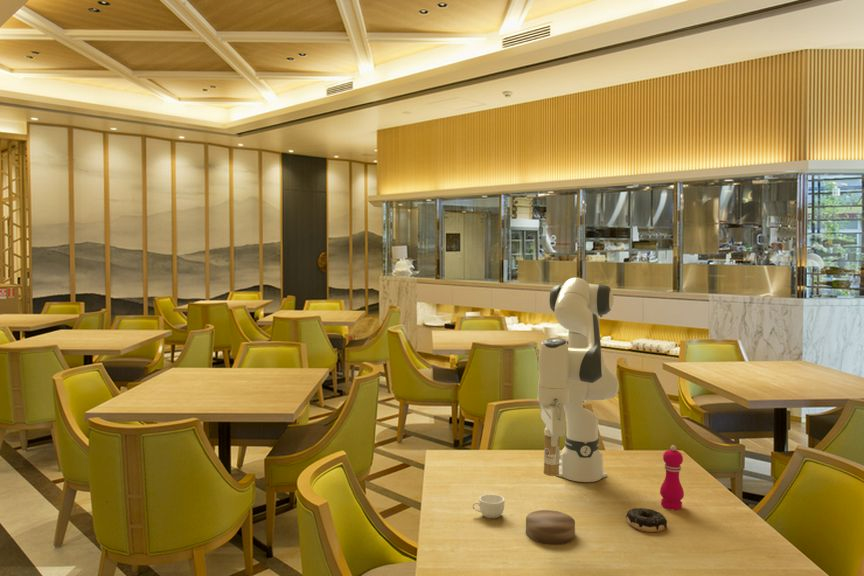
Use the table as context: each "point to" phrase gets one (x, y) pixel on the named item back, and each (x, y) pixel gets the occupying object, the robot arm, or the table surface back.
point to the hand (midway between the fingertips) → (552, 442)
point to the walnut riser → (550, 527)
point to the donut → (646, 520)
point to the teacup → (490, 505)
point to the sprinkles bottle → (551, 455)
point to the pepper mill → (672, 480)
